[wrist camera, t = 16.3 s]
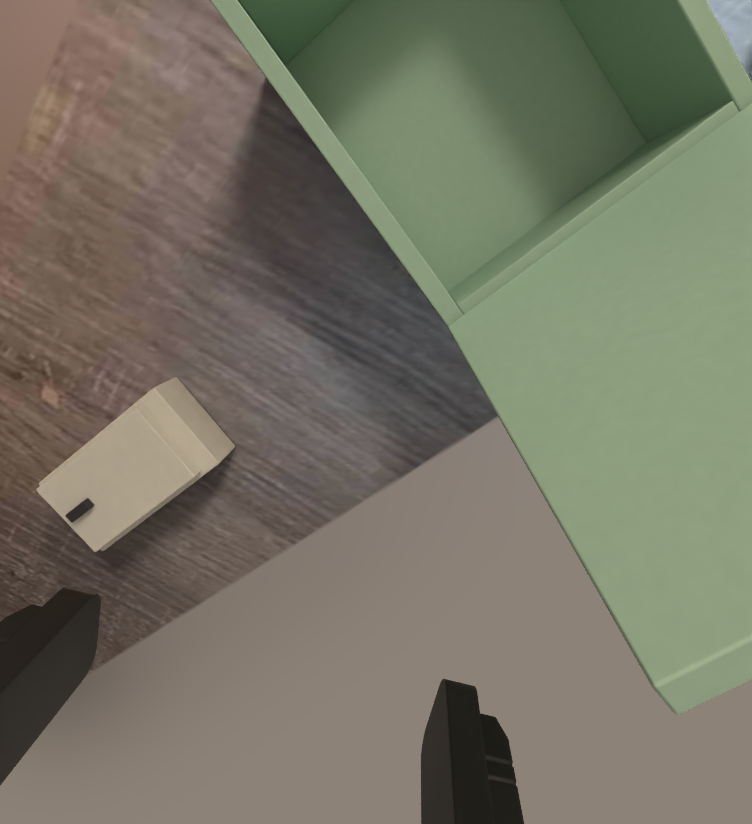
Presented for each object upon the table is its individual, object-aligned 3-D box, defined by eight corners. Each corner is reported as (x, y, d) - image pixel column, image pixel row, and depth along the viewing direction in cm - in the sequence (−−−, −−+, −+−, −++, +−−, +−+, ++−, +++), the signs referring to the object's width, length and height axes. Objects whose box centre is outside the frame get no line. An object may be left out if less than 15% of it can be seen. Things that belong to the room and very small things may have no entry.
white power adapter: (127, 528, 37) (87, 565, 32) (68, 465, 36) (19, 494, 31) (236, 446, 34) (209, 473, 30) (176, 376, 33) (140, 394, 29)
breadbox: (267, 68, 28) (202, -10, 20) (487, -141, 25) (519, -339, 17) (443, 311, 31) (452, 332, 23) (662, 148, 28) (765, 103, 20)
